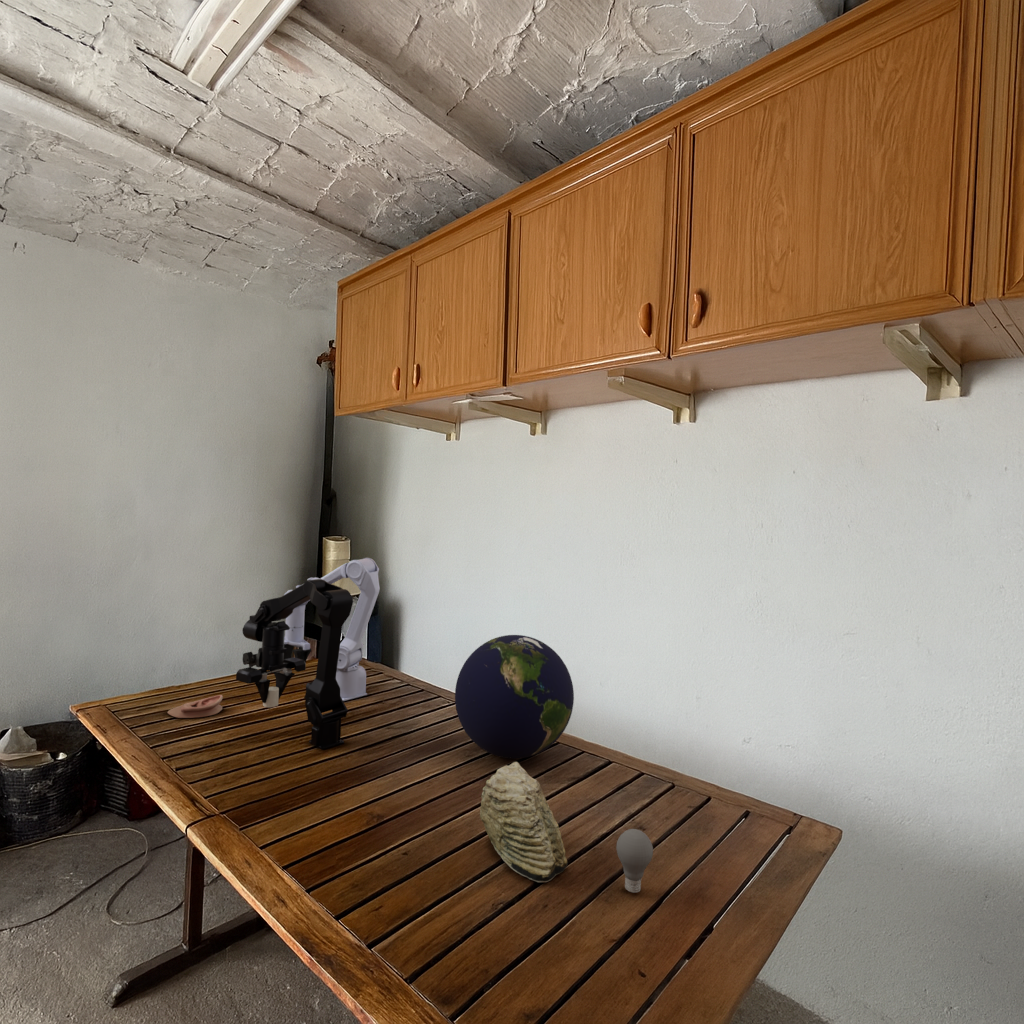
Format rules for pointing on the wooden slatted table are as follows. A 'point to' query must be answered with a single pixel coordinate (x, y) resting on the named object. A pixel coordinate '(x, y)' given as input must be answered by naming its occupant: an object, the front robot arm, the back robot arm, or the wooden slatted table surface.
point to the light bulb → (634, 857)
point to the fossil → (522, 824)
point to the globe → (514, 696)
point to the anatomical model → (198, 708)
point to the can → (272, 697)
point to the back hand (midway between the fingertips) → (293, 668)
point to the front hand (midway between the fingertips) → (270, 700)
